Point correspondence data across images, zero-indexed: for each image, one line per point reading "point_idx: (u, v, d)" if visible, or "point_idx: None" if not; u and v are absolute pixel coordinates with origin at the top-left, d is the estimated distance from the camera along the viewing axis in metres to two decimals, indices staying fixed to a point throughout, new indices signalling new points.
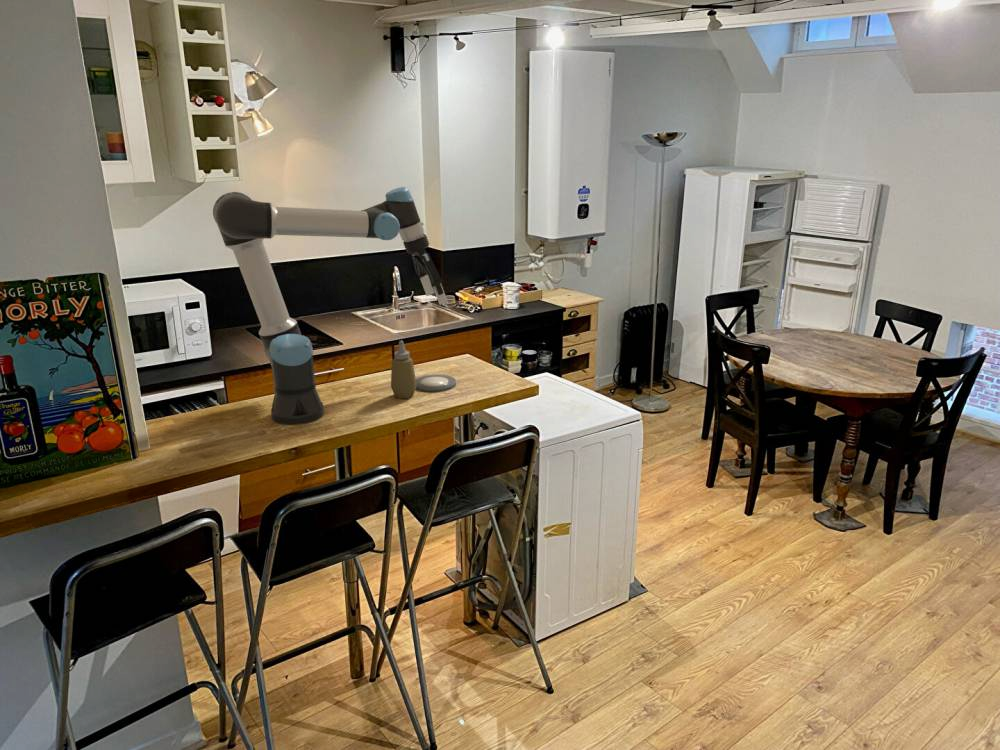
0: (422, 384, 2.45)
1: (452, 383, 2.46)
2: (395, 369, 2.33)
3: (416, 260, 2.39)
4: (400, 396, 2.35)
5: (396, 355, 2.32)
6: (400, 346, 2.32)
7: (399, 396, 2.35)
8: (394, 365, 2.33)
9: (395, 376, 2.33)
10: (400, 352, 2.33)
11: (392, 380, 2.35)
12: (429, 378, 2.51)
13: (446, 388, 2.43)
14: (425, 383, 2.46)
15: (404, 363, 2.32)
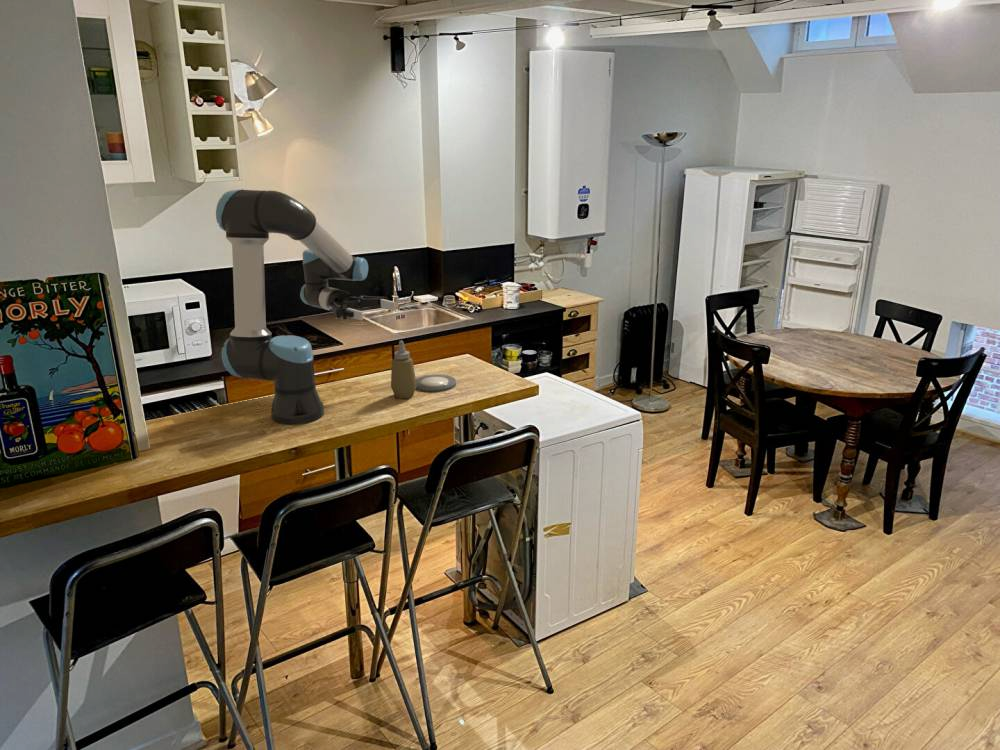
0: (422, 384, 2.45)
1: (452, 383, 2.46)
2: (395, 369, 2.33)
3: (346, 300, 2.42)
4: (400, 396, 2.35)
5: (396, 355, 2.32)
6: (400, 346, 2.32)
7: (399, 396, 2.35)
8: (394, 365, 2.33)
9: (395, 376, 2.33)
10: (400, 352, 2.33)
11: (392, 380, 2.35)
12: (429, 378, 2.51)
13: (446, 388, 2.43)
14: (425, 383, 2.46)
15: (404, 363, 2.32)
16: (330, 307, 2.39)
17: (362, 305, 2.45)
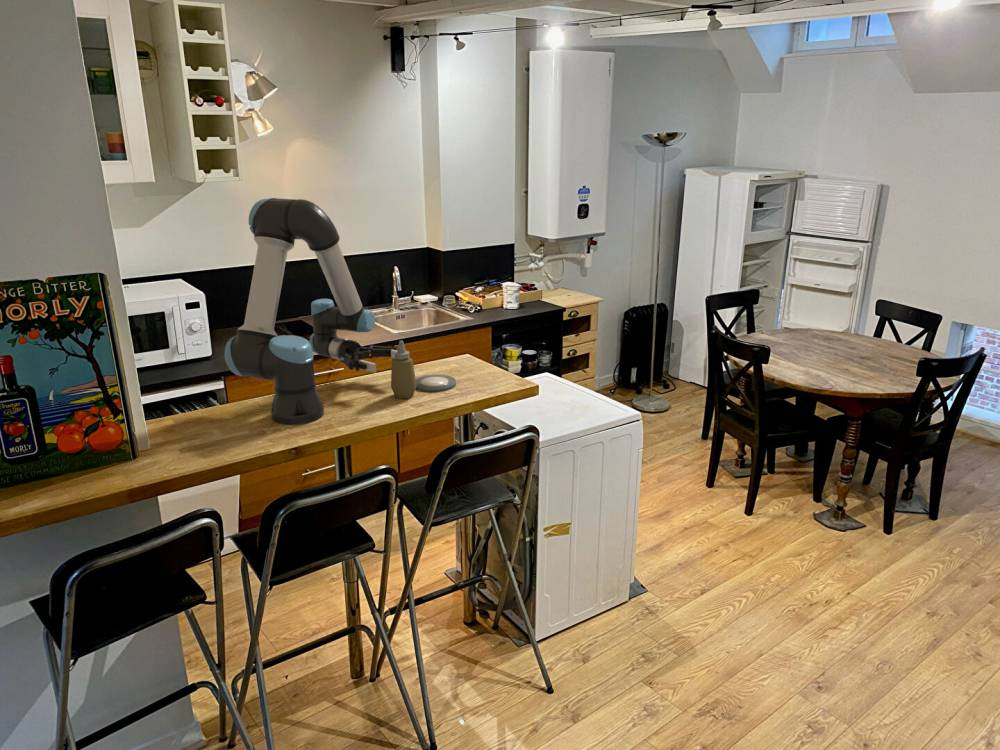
0: (422, 384, 2.45)
1: (452, 383, 2.46)
2: (395, 369, 2.33)
3: (357, 350, 2.46)
4: (400, 396, 2.35)
5: (396, 355, 2.32)
6: (400, 346, 2.32)
7: (399, 396, 2.35)
8: (394, 365, 2.33)
9: (395, 376, 2.33)
10: (400, 352, 2.33)
11: (392, 380, 2.35)
12: (429, 378, 2.51)
13: (446, 388, 2.43)
14: (425, 383, 2.46)
15: (404, 363, 2.32)
16: (342, 358, 2.43)
17: (372, 355, 2.49)
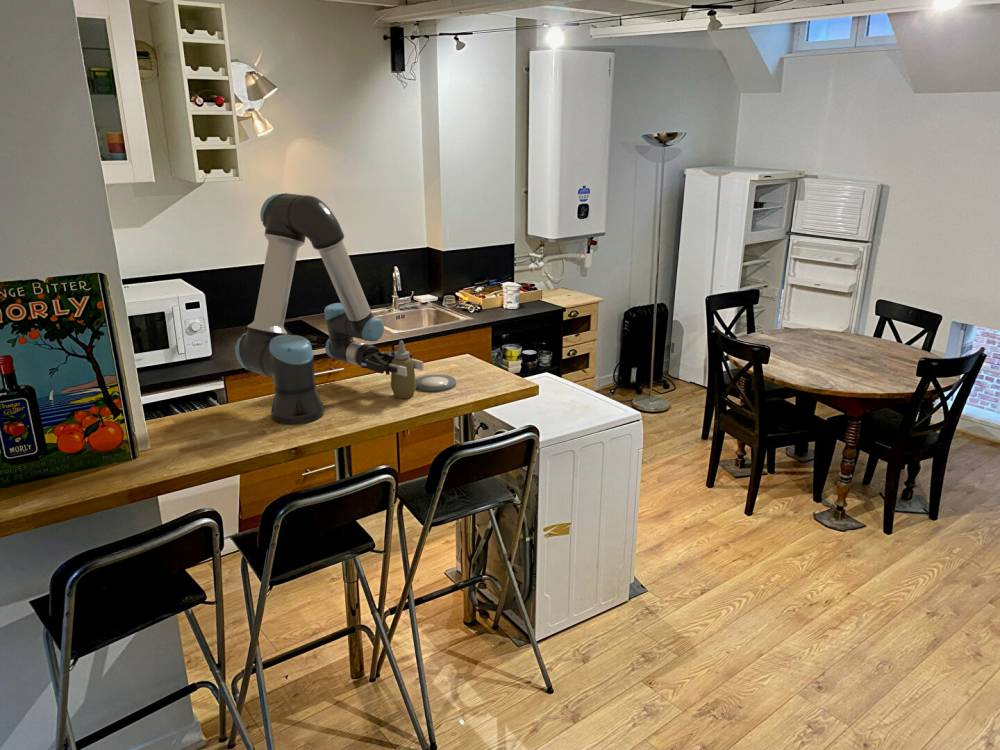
0: (422, 384, 2.45)
1: (452, 383, 2.46)
2: None
3: (376, 355, 2.40)
4: (400, 396, 2.35)
5: (396, 355, 2.32)
6: (400, 346, 2.32)
7: (399, 396, 2.35)
8: None
9: (395, 376, 2.33)
10: (400, 352, 2.33)
11: (392, 380, 2.35)
12: (429, 378, 2.51)
13: (446, 388, 2.43)
14: (425, 383, 2.46)
15: (404, 363, 2.32)
16: (363, 364, 2.37)
17: (389, 361, 2.42)
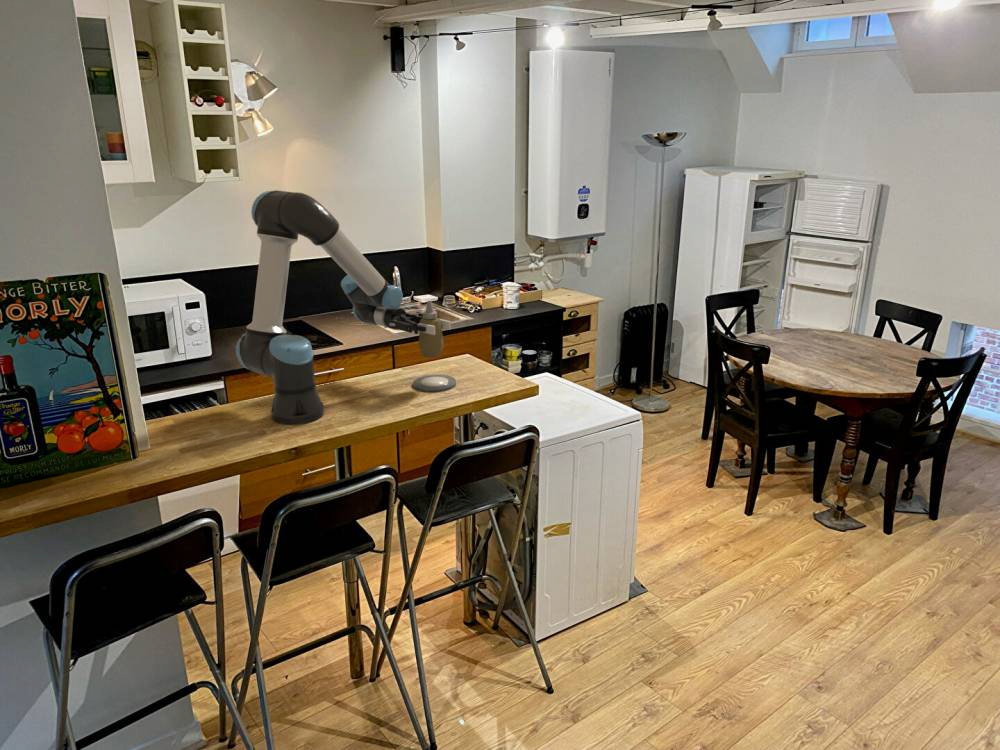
0: (422, 384, 2.45)
1: (452, 383, 2.46)
2: None
3: None
4: (428, 355, 2.41)
5: (424, 315, 2.38)
6: (428, 306, 2.38)
7: (427, 355, 2.41)
8: None
9: (423, 335, 2.39)
10: (428, 312, 2.38)
11: (420, 339, 2.40)
12: (429, 378, 2.51)
13: (446, 388, 2.43)
14: (425, 383, 2.46)
15: (432, 322, 2.38)
16: (392, 324, 2.42)
17: (416, 322, 2.47)
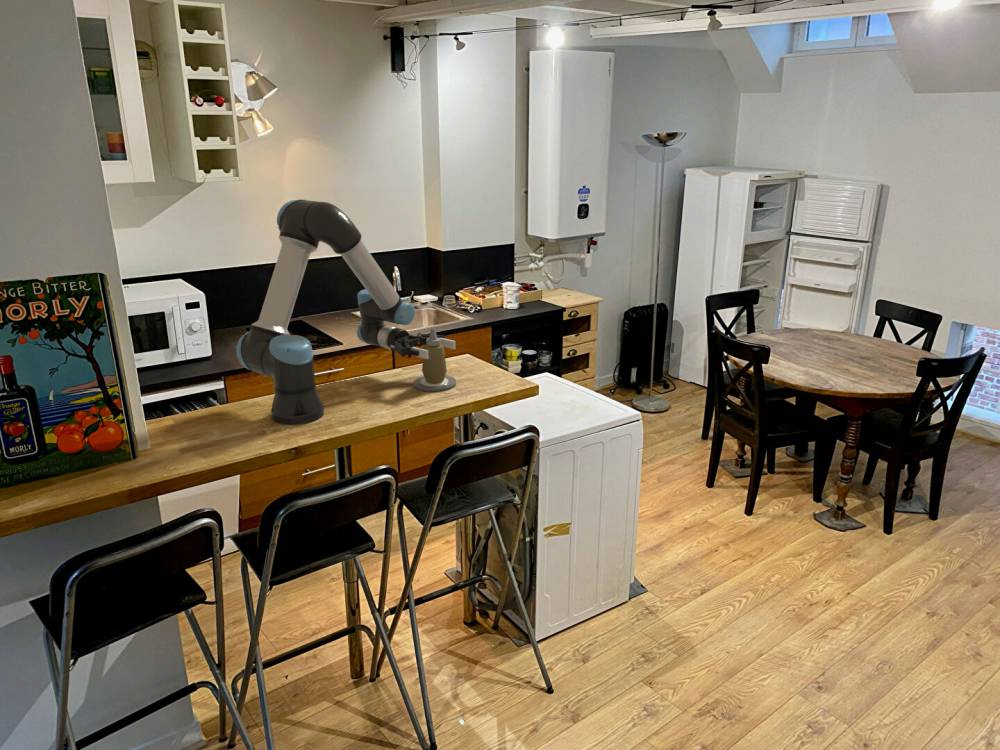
0: (422, 384, 2.45)
1: (452, 383, 2.46)
2: None
3: (407, 338, 2.49)
4: (431, 381, 2.45)
5: (428, 342, 2.42)
6: (432, 333, 2.42)
7: (430, 381, 2.45)
8: None
9: (427, 361, 2.43)
10: (432, 339, 2.42)
11: (424, 366, 2.44)
12: None
13: (446, 388, 2.43)
14: (425, 383, 2.46)
15: (435, 349, 2.41)
16: (392, 346, 2.46)
17: (421, 343, 2.52)
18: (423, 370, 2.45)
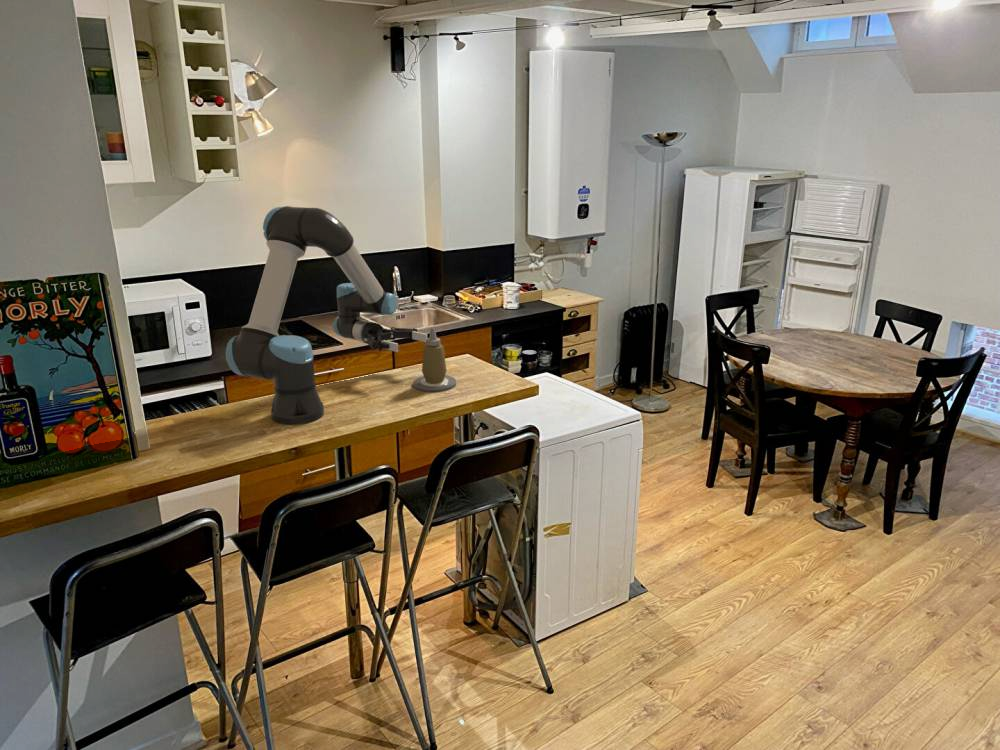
0: (422, 384, 2.45)
1: (452, 383, 2.46)
2: (426, 355, 2.42)
3: (380, 332, 2.56)
4: (431, 381, 2.45)
5: (428, 342, 2.42)
6: (431, 333, 2.42)
7: (430, 381, 2.45)
8: (426, 351, 2.42)
9: (427, 362, 2.43)
10: (431, 339, 2.42)
11: (423, 366, 2.44)
12: None
13: (446, 388, 2.43)
14: (425, 383, 2.46)
15: (435, 349, 2.41)
16: (365, 339, 2.54)
17: (394, 337, 2.59)
18: (423, 370, 2.45)
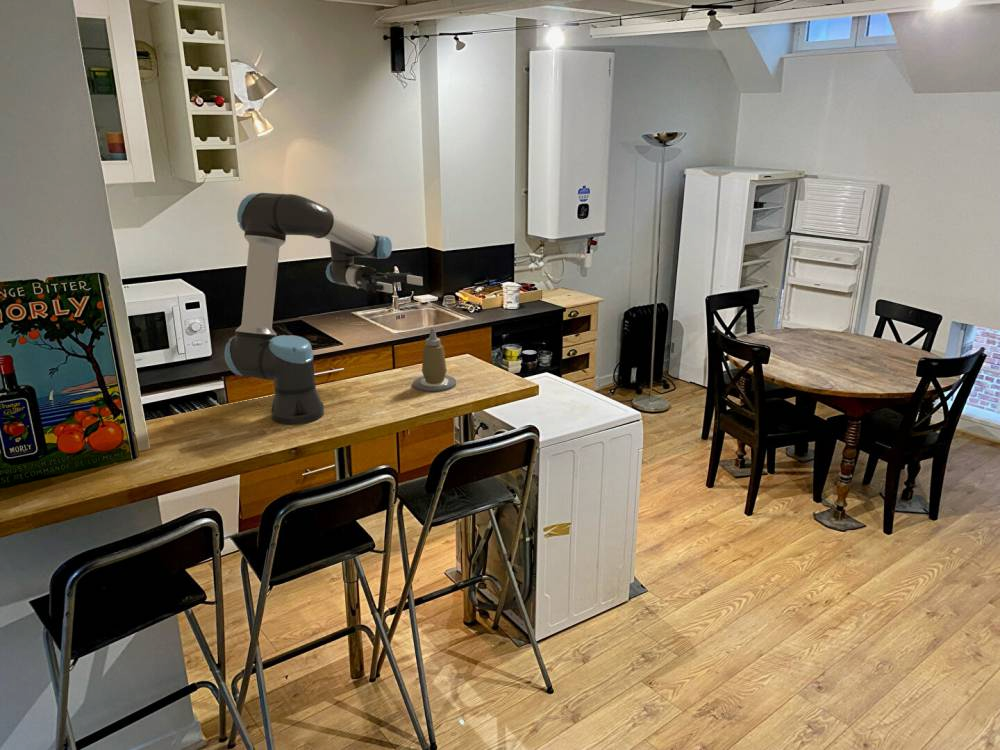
0: (422, 384, 2.45)
1: (452, 383, 2.46)
2: (426, 355, 2.42)
3: (374, 275, 2.50)
4: (431, 381, 2.45)
5: (428, 342, 2.42)
6: (431, 333, 2.42)
7: (430, 381, 2.45)
8: (426, 351, 2.42)
9: (427, 362, 2.43)
10: (431, 339, 2.42)
11: (423, 366, 2.44)
12: None
13: (446, 388, 2.43)
14: (425, 383, 2.46)
15: (435, 349, 2.41)
16: (359, 282, 2.47)
17: (388, 281, 2.53)
18: (423, 370, 2.45)
